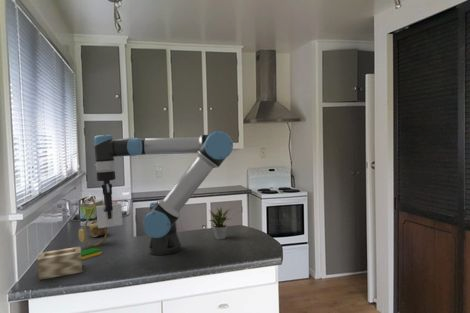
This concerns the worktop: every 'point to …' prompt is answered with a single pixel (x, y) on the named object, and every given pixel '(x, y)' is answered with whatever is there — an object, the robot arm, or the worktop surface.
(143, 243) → the worktop surface
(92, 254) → the dish sponge
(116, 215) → the grey flat block
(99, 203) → the tea box
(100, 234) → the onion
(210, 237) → the worktop surface
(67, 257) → the camouflage slotted box
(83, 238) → the wall sconce
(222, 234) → the house plant
